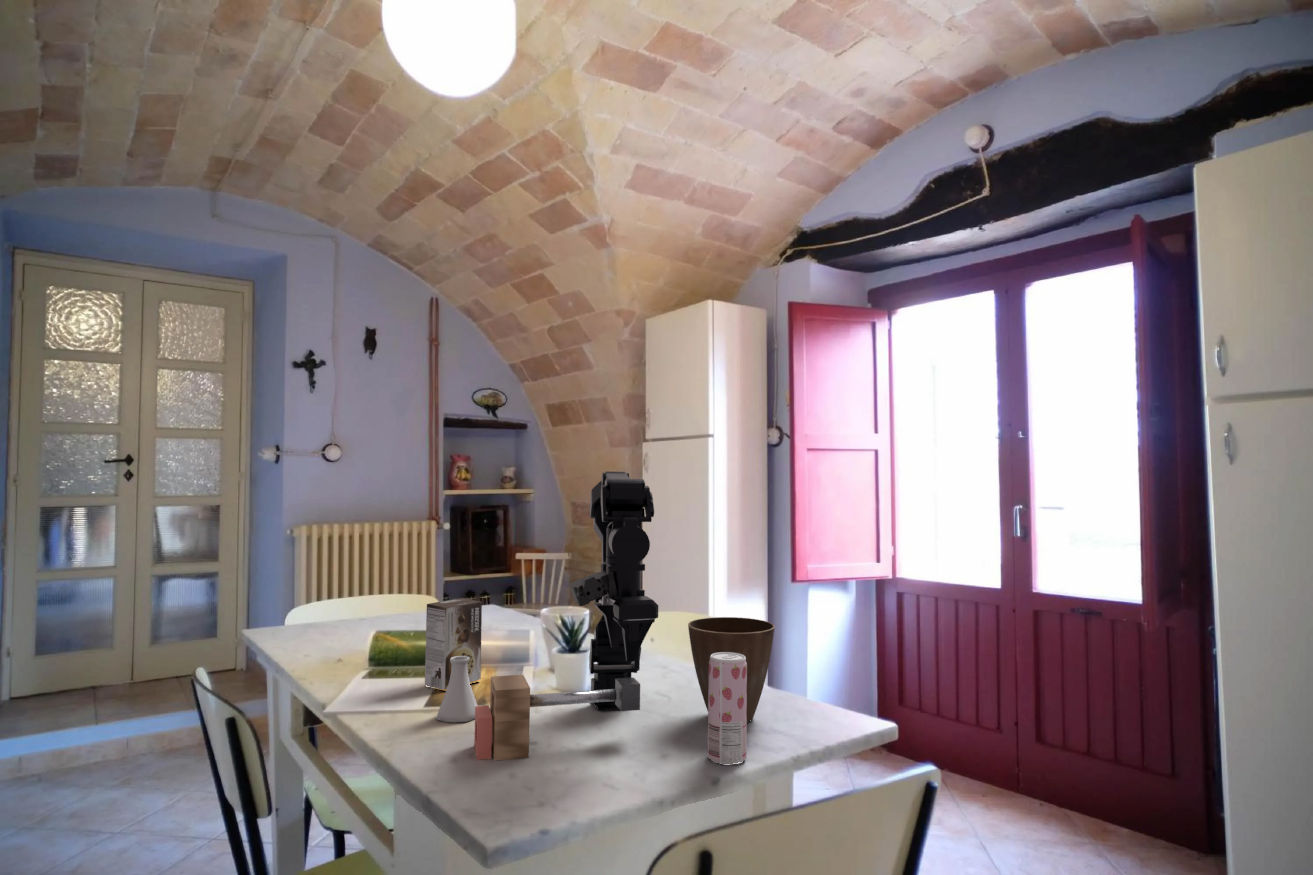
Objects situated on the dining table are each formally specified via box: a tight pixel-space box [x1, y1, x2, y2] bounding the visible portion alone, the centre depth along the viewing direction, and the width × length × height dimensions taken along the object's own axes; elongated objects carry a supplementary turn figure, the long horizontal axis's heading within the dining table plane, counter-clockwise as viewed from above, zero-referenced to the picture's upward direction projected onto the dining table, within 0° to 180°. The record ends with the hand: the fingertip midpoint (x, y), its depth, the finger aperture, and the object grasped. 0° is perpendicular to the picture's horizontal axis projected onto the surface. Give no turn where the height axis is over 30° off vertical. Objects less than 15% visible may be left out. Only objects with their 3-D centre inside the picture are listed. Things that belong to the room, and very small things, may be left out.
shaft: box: [530, 677, 641, 712], centre depth 120 cm, size 20×4×4 cm, turn 107°
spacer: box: [473, 704, 492, 761], centre depth 116 cm, size 2×6×6 cm, turn 17°
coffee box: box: [424, 597, 483, 690], centre depth 153 cm, size 9×6×16 cm
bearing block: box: [489, 674, 531, 761], centre depth 117 cm, size 5×8×10 cm, turn 17°
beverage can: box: [707, 652, 748, 764], centre depth 115 cm, size 6×6×15 cm
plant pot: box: [687, 616, 776, 723], centre depth 135 cm, size 15×15×16 cm
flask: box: [435, 656, 479, 723], centre depth 133 cm, size 7×7×10 cm
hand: (622, 654), depth 124 cm, fingers open, 9 cm apart
